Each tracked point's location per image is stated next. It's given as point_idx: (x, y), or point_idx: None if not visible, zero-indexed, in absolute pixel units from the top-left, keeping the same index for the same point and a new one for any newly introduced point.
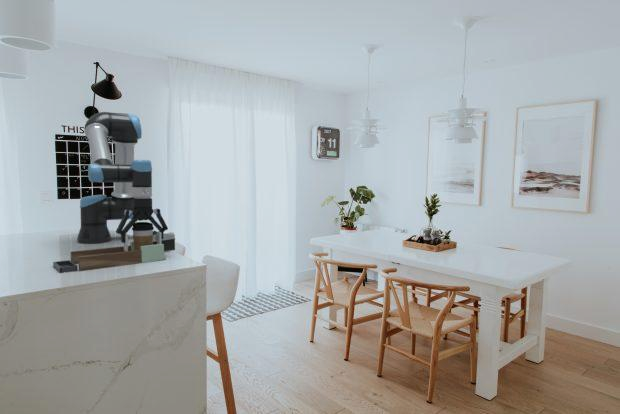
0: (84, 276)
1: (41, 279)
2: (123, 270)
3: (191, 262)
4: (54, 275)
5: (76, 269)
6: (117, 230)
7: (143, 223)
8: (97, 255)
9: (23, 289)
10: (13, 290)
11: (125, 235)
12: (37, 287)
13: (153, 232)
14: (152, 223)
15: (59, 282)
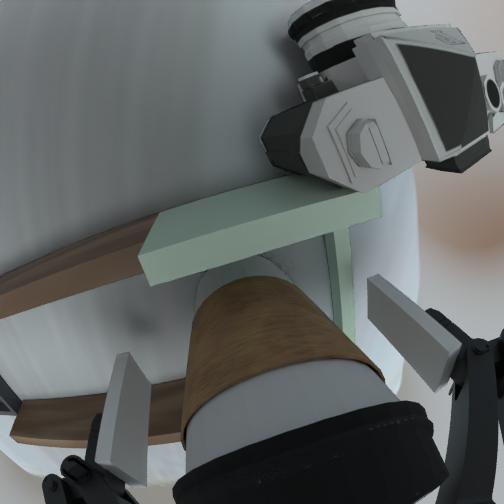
0: (76, 453)
1: (3, 430)
2: (163, 446)
3: (391, 386)
4: (2, 415)
5: (20, 406)
6: (58, 502)
7: (388, 495)
8: (56, 446)
9: (26, 463)
10: (16, 460)
11: (128, 482)
12: (38, 466)
13: (454, 77)
14: (464, 453)
15: (53, 462)
